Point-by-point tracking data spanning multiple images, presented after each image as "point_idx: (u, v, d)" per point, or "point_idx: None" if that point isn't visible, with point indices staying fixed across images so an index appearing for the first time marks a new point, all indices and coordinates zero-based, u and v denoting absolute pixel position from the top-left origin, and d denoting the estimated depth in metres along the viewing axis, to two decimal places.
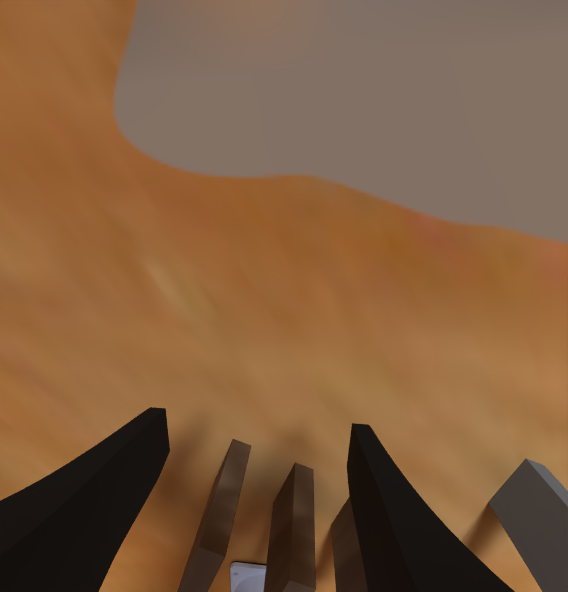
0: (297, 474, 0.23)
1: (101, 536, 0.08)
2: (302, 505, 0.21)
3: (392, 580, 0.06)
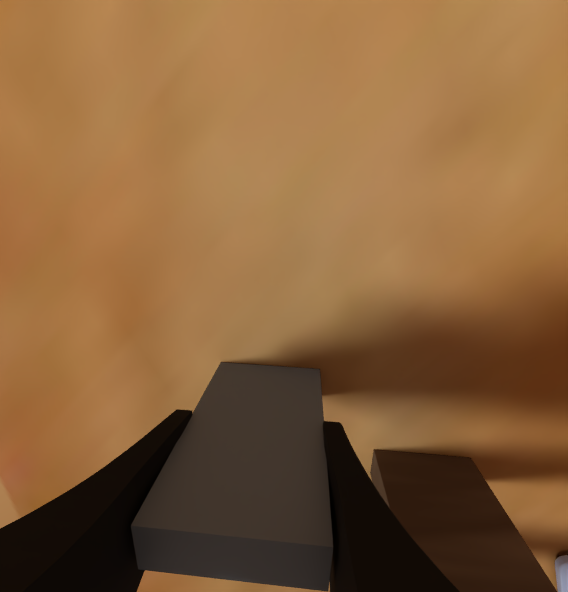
0: None
1: None
2: None
3: (344, 575, 0.06)
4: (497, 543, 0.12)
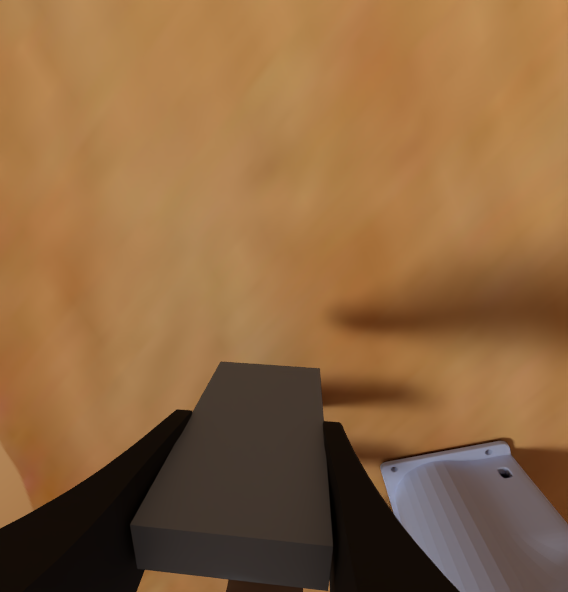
0: None
1: None
2: None
3: (343, 575, 0.06)
4: None
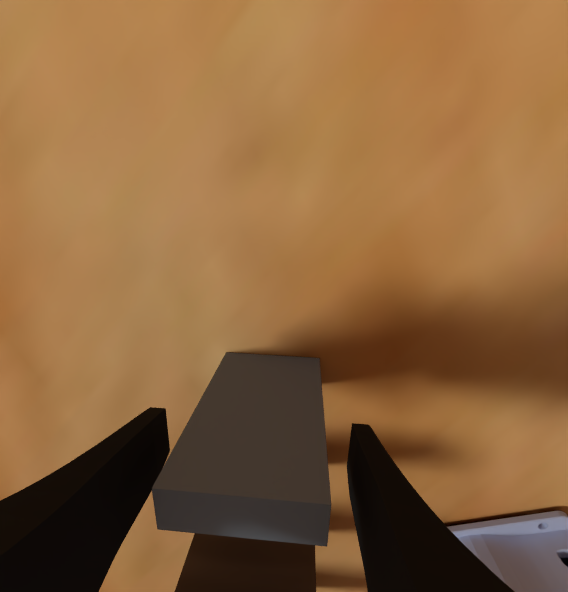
0: None
1: (101, 536, 0.08)
2: None
3: (393, 580, 0.06)
4: None
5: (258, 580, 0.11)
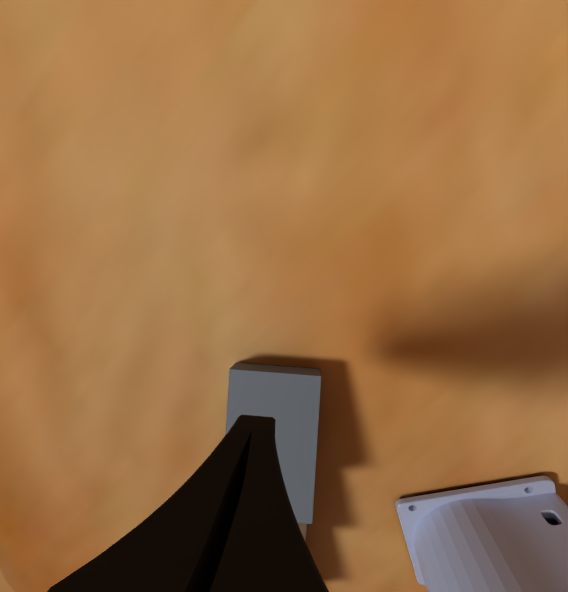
0: None
1: None
2: None
3: None
4: None
5: None
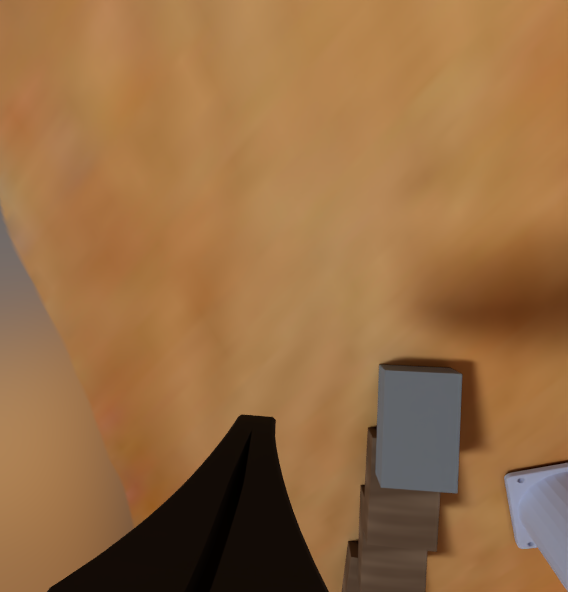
0: (347, 554, 0.27)
1: None
2: (344, 585, 0.26)
3: None
4: (423, 499, 0.21)
5: (408, 532, 0.22)
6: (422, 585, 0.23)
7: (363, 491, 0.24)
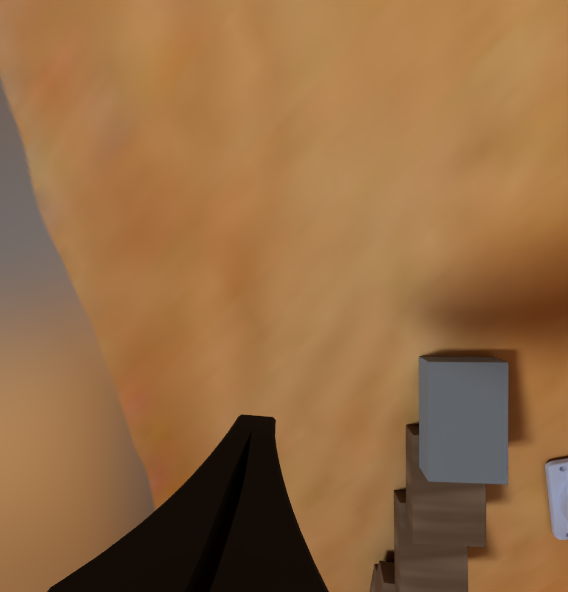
0: (377, 571, 0.26)
1: None
2: None
3: None
4: (469, 495, 0.21)
5: (455, 529, 0.21)
6: None
7: (397, 496, 0.24)
